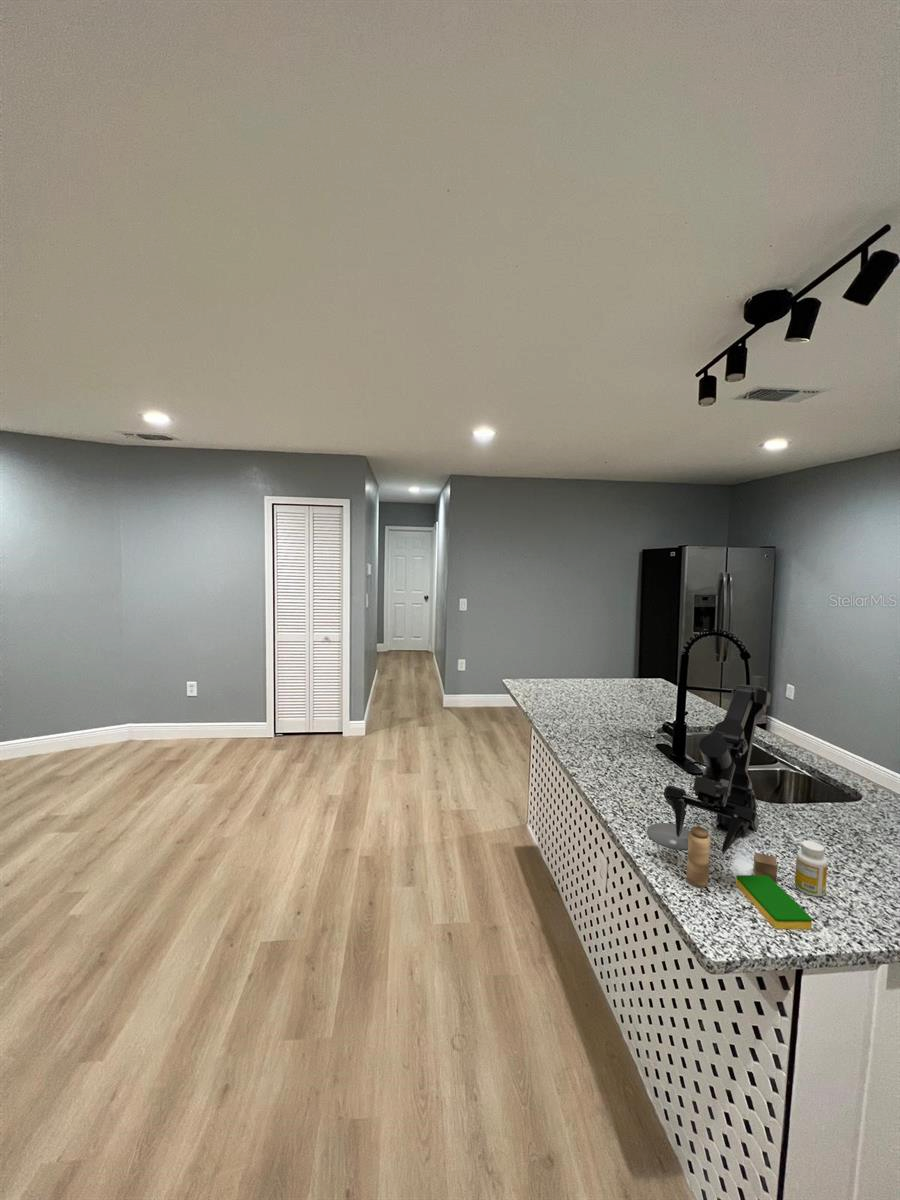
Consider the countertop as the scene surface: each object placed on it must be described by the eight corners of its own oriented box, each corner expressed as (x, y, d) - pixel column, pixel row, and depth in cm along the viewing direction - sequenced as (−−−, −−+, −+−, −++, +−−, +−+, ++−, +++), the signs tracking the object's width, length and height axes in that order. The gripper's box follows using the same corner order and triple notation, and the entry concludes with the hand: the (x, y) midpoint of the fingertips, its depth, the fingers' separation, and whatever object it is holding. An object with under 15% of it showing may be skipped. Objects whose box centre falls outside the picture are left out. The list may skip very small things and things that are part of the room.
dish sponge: (767, 885, 112) (768, 874, 112) (812, 931, 99) (813, 919, 98) (734, 885, 112) (735, 874, 112) (775, 931, 99) (776, 918, 98)
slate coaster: (706, 837, 131) (706, 836, 131) (686, 855, 123) (686, 854, 123) (659, 819, 140) (659, 818, 140) (638, 835, 131) (638, 834, 131)
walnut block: (774, 874, 116) (775, 856, 116) (776, 883, 113) (777, 866, 112) (753, 869, 118) (754, 852, 118) (754, 878, 114) (756, 861, 114)
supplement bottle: (812, 881, 114) (816, 838, 113) (831, 897, 108) (835, 852, 107) (788, 881, 113) (791, 838, 113) (806, 897, 108) (809, 852, 107)
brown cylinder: (710, 881, 113) (713, 830, 112) (703, 890, 110) (706, 837, 109) (691, 873, 116) (693, 823, 115) (683, 881, 113) (686, 829, 112)
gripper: (668, 751, 122) (647, 813, 114) (759, 773, 109) (743, 844, 102) (677, 774, 128) (659, 834, 121) (765, 798, 116) (750, 866, 108)
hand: (699, 843), depth 113 cm, fingers open, 9 cm apart
